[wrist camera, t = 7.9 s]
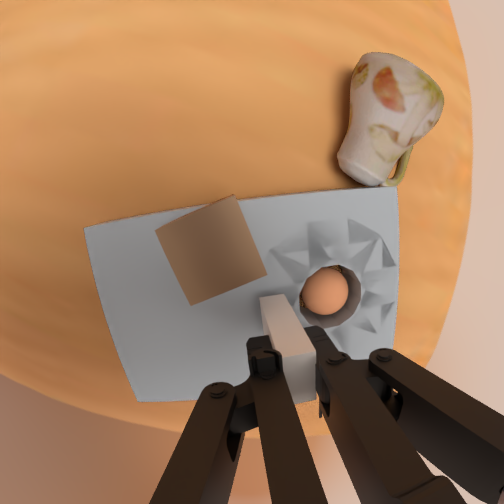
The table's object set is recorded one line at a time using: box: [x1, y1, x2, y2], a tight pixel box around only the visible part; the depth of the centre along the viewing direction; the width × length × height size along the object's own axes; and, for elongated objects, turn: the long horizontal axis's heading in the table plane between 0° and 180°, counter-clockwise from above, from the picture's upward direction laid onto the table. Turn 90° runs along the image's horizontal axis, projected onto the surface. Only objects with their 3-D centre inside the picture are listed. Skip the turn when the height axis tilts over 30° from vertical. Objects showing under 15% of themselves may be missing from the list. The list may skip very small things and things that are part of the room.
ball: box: [301, 267, 348, 315], centre depth 20 cm, size 4×4×4 cm
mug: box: [337, 52, 444, 187], centre depth 17 cm, size 8×10×10 cm
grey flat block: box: [84, 186, 399, 402], centre depth 20 cm, size 21×14×4 cm, turn 97°
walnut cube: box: [154, 194, 268, 306], centre depth 15 cm, size 4×4×4 cm
